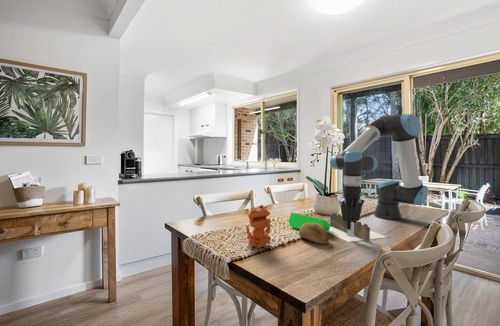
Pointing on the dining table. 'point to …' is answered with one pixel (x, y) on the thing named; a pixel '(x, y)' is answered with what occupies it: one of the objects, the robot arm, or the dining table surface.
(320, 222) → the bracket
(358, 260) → the dining table surface
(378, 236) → the card
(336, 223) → the fence fixed
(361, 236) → the fence panel
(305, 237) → the bread roll
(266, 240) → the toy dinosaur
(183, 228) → the dining table surface
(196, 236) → the dining table surface
